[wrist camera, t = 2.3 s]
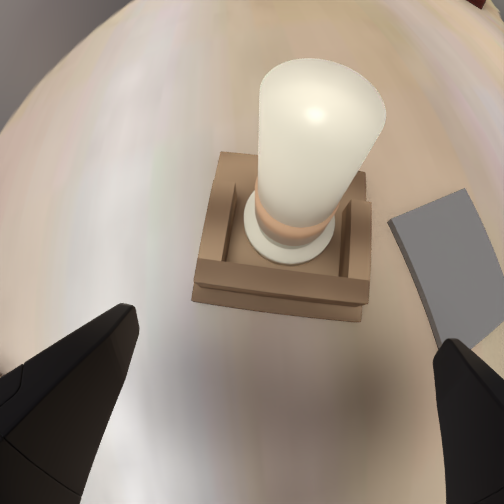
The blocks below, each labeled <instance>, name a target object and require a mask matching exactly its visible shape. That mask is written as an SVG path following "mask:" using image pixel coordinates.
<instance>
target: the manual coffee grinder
mask: <svg viewBox="0 0 504 504" xmlns="http://www.w3.org/2000/svg"><path fill="white" fill-rule="evenodd" d="M467 1H468V2H470V3H472V4H473V5H475V6H477V7H478V8H480V9H482V7H483V5H484V4H485V2H486V0H467Z"/></svg>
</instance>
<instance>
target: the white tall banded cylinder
mask: <svg viewBox="0 0 504 504" xmlns="http://www.w3.org/2000/svg"><path fill="white" fill-rule="evenodd" d="M385 121H386V109H385V105H384V102H383V100H382V98H381V96H380V94H379V93H378V91H377V90H376V88H375V87H374V86H373V85H372V84H371V83H370V82H369V81H368V80H367V79H366V78H364V77H363V76H362V75H360V74H359V73H357V72H356V71H354V70H352V69H350V68H348V67H346V66H344V65H342V64H339V63H336V62H333V61H329V60H324V59H316V58H302V59H295V60H290V61H287V62H284V63H282V64H279V65H277V66H276V67H274V68H273V69H272V70H270V71H269V72H268V73H267V74H266V76H265V77H264V79H263V80H262V83H261V86H260V98H259V145H258V176H257V178H256V182H255V190H254V192H253V193H252V194H251V195H250V197H249V199H248V201H247V203H246V206H245V210H244V228H245V233H246V236H247V239H248V241H249V243H250V245H251V246H252V248H253V249H254V250H255V251H256V252H257V253H258V254H259V255H260V256H261V257H262V258H264V259H265V260H267V261H269V262H271V263H274V264H277V265H281V266H298V265H302V264H305V263H307V262H310V261H311V260H313V259H315V258H316V257H317V256H318V255H319V254H320V253H321V252H322V251H323V250H324V249H325V247H326V246H327V245H328V243H329V242H330V240H331V238H332V236H333V232H334V227H335V216H334V214H335V213H336V211H337V209H338V207H339V204H340V200H341V198H342V196H343V195H344V193H345V192H346V190H347V188H348V187H349V185H350V183H351V182H352V180H353V178H354V177H355V175H356V173H357V172H358V170H359V168H360V167H361V165H362V163H363V162H364V160H365V158H366V157H367V155H368V153H369V151H370V150H371V148H372V146H373V145H374V143H375V141H376V139H377V138H378V136H379V134H380V132H381V131H382V129H383V127H384V124H385Z"/></svg>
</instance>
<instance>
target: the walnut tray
mask: <svg viewBox="0 0 504 504" xmlns="http://www.w3.org/2000/svg"><path fill="white" fill-rule="evenodd" d="M257 176H258V155H251V154H242V153H231V152H220V157H219V161H218V165H217V170H216V174H215V179H214V180H213V184H212V189H211V194H210V198H209V203H208V208H207V213H206V218H205V223H204V228H203V233H202V238H201V243H200V248H199V254H198V259H197V265H196V270H195V276H194V286H193V292H192V298H191V300H192V301H194V302H200V303H206V304H212V305H219V306H225V307H232V308H239V309H246V310H253V311H261V312H268V313H276V314H284V315H292V316H301V317H310V318H319V319H329V320H339V321H350V322H361V315H362V305H365V304H368V301H369V286H370V267H371V230H372V210H371V202H367V201H366V174H365V172H362V171H358V172H357V173H356V175H355V177H354V178H353V180H352V182H351V183H350V185H349V187H348V188H347V190H346V192H345V193H344V195H343V196H342V198H341V200H340V204H339V207H338V209H337V211H336V213H335V214H334V216H335V227H334V232H333V236H332V238H331V240H330V242H329V243H328V245H327V246H326V247H325V249H324V250H323V251H322V252H321V253H320V254H319V255H318V256H317V257H316V258H315V259H313V260H311V261H310V262H307V263H305V264H302V265H298V266H281V265H277V264H274V263H271V262H269V261H267V260H265V259H264V258H262V257H261V256H260V255H259V254H258V253H257V252H256V251H255V250H254V249H253V248H252V246H251V245H250V243H249V241H248V239H247V236H246V233H245V228H244V210H245V206H246V203H247V201H248V199H249V197H250V195H251V194H252V193H253V192H254V190H255V182H256V178H257Z"/></svg>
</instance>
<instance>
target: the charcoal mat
mask: <svg viewBox="0 0 504 504" xmlns="http://www.w3.org/2000/svg"><path fill="white" fill-rule="evenodd" d="M388 225H389V227H390V229H391V231H392V233H393V235H394V237H395V239H396V241H397V243H398V246H399V248H400V250H401V252H402V254H403V257H404V259H405V261H406V264H407V266H408V268H409V271H410V273H411V275H412V278H413V280H414V283H415V285H416V287H417V290H418V293H419V295H420V298H421V300H422V303H423V306H424V308H425V311H426V314H427V316H428V319H429V322H430V325H431V328H432V331H433V334H434V337H435V340H436V343H437V346H438V349H439V348H440V347H441V345H442V344H443V342H444V341H445V340H446V339H447V338H457V339H459V340H460V341H461V342H463V343H464V344H465V345H466V346H467V347H468V348H469V349H472V348H473V347H474V346H475V345H476V344H478V343H479V342H480V341H481V340H482V339H484V338H485V337H486V336H487V335H488V334H489V333H491V332H492V331H493V330H494V329H495V328H496V327H497V326H499V325H500V324H501V323H502V322H503V321H504V276H503V273H502V270H501V268H500V265H499V262H498V259H497V257H496V254H495V252H494V249H493V247H492V244H491V242H490V239H489V237H488V235H487V232H486V230H485V228H484V226H483V223H482V221H481V219H480V217H479V215H478V213H477V211H476V209H475V207H474V205H473V203H472V201H471V199H470V197H469V195H468V193H467V191H466V189H465V188H464V189H461V190H459V191H457V192H454V193H452V194H450V195H447V196H445V197H443V198H440V199H438V200H435V201H433V202H431V203H428V204H426V205H423V206H421V207H419V208H416V209H414V210H411V211H409V212H406V213H404V214H402V215H399V216H397V217H394V218H392V219H390V220H389V221H388Z"/></svg>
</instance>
